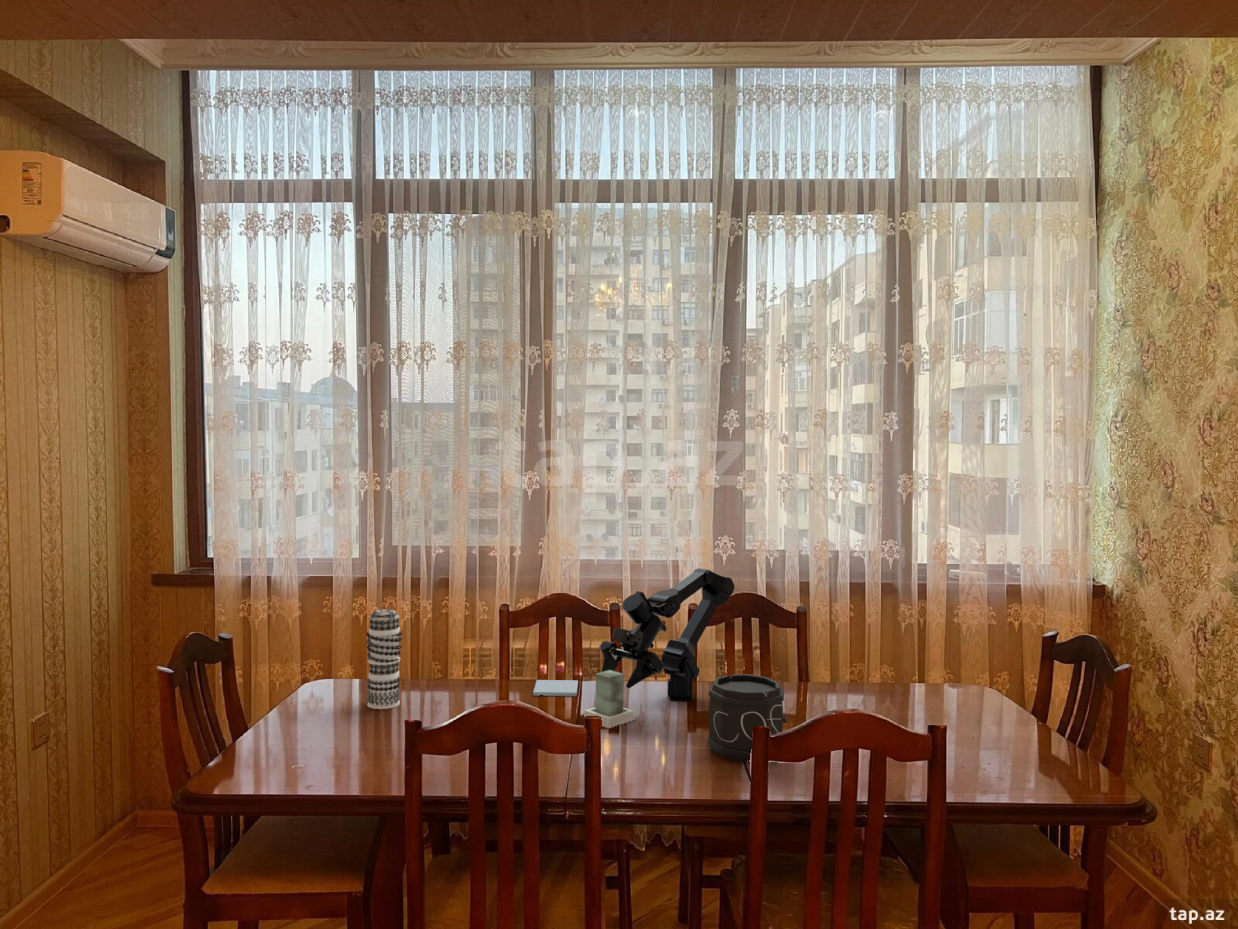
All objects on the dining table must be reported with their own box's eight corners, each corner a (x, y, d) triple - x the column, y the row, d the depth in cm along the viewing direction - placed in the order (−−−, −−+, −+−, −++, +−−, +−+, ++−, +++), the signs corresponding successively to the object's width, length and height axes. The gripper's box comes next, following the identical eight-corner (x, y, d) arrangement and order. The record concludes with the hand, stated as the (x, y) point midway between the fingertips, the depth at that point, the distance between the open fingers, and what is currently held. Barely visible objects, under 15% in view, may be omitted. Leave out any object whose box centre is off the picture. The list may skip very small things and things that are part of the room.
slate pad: (577, 683, 253) (577, 680, 253) (576, 696, 241) (576, 692, 241) (536, 683, 253) (536, 680, 253) (533, 695, 241) (533, 692, 241)
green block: (609, 715, 225) (609, 670, 224) (622, 720, 221) (623, 673, 221) (595, 720, 221) (595, 673, 221) (609, 725, 218) (609, 677, 217)
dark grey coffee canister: (785, 768, 191) (787, 697, 190) (704, 760, 195) (705, 691, 194) (786, 740, 209) (788, 675, 208) (712, 734, 212) (713, 670, 212)
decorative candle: (396, 710, 226) (397, 614, 226) (361, 709, 227) (361, 614, 226) (405, 699, 236) (406, 607, 235) (371, 698, 236) (372, 607, 235)
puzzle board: (609, 712, 227) (609, 702, 227) (634, 720, 221) (634, 710, 221) (584, 720, 221) (584, 710, 221) (609, 728, 215) (609, 718, 215)
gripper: (604, 610, 232) (573, 658, 224) (656, 621, 219) (625, 672, 211) (624, 635, 238) (594, 682, 230) (676, 647, 225) (646, 698, 217)
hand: (614, 683), depth 222 cm, fingers open, 9 cm apart
